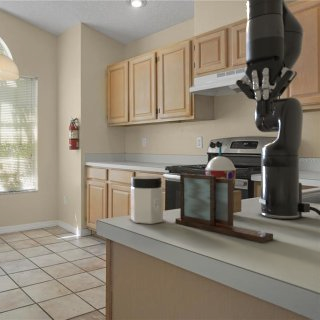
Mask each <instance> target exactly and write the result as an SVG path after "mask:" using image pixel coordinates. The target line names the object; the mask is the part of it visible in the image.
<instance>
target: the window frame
mask: <svg viewBox="0 0 320 320" xmlns="http://www.w3.org/2000/svg"><path fill="white" fill-rule="evenodd" d="M179 185H180V186H179V197H180V198H179V199H180V200H179V201H180V202H179V203H180V204H179V205H180V206H179V207H180V208H179V209H180V211H179V212H180V214H179V215H180V216H179V217H177V218H175V224H178V225H182V226H187V227H191V228H196V229H199V230H203V231H208V232H213V233H217V234H222V235H226V236H231V237H235V238H240V239H245V240H248V241H253V242H256V243H261V244H264V243H266V242H269V241H272V240H274V234H273V233H271V232H266V231H261V230H255V229H251V228H246V227H241V226H235V225H233V226H228V225H223V224H218V223H216V176H213V175H206V174H196V173H195V174H194V173H179Z"/></svg>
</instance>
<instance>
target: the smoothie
mask: <svg viewBox="0 0 320 320" xmlns="http://www.w3.org/2000/svg"><path fill="white" fill-rule="evenodd" d="M222 152H223V151H222V146H218V155H217V156H215V157H213V158H211V159H210V160H209V161H208V163H207V165H206V167H205V168H204V169H205V175H213V176H216V178H223V179H233V191H236V189H235V187H236V172H237V171H236V170H237V168H236V167H235V165H234V163H233V162H232V160H231V159H230V158H229V157H225V156H222V155H223V154H222Z"/></svg>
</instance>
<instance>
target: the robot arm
mask: <svg viewBox="0 0 320 320" xmlns="http://www.w3.org/2000/svg"><path fill="white" fill-rule="evenodd" d="M245 27H246V28H245V40H244V41H245V65H246V68H245V70H244V75H243V76H242V77H241V78H240V79H236V81H235V84H236V85H237V87H238V88H239V89H240V90H241V91H242V92H243V94H244V95H245V96H246V97H247V98H248V100H254V101H255V102H256V103H255V108H254V124H255V127H256V128H257V130H258V131H259V132H261V133H278V134H277V137H276V138H275V139H274V140H273V141H271V142H269V143H266V144H264V145H262V146H261V148H260V198H258V202H259V203H260V215H261V216H262V217H265V218H270V219H279V220H296V219H299V218H302V217H303V213H305V214H306V213H310V212H311V211H312V212H315V213H316V214H317V215H318V216H320V209H318V208H317V207H313V206H312V205H311V203H308V202H303V184H302V182H300V149H301V146H302V139H303V138H302V137H303V123H304V122H303V121H304V111H303V110H304V109H303V106H302V104H301V101H300V100H299V99H298V98H297V97H292V96H291V97H282V98H279V97H281V96H282V95H283V94H284V93H285V91H286V90H287V89H288V87H289V86H290V85H291V83H292V82H293V81H294V79H295V77H296V76H297V74H298V72H297V71H296V70H292V69H293V68H294V67H295V65H296V64H297V63H298V60H299V59H300V57H301V53H302V50H303V41H304V28H303V26H302V24H301V22H300V21H299V20H298V18H297V17H296V16H295V15H294V14H293V12H292V11H291V10H290V8H289V7H288V4H287V3H286V1H285V0H247V1H246V26H245ZM250 84H252V86H253V87H252V86H251V85H250Z"/></svg>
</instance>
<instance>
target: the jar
mask: <svg viewBox="0 0 320 320" xmlns="http://www.w3.org/2000/svg"><path fill="white" fill-rule="evenodd" d="M130 179H131V186H130V219H131V220H132V221H133V222H134V224H135V223H136V224H144V225H145V224H146V225H153V224H159V223H163V222H164V188H163V186H162V182H163V181H162V177H161V176H154V175H153V176H151V175H143V176H142V175H139V176H132V177H131V178H130Z"/></svg>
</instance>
